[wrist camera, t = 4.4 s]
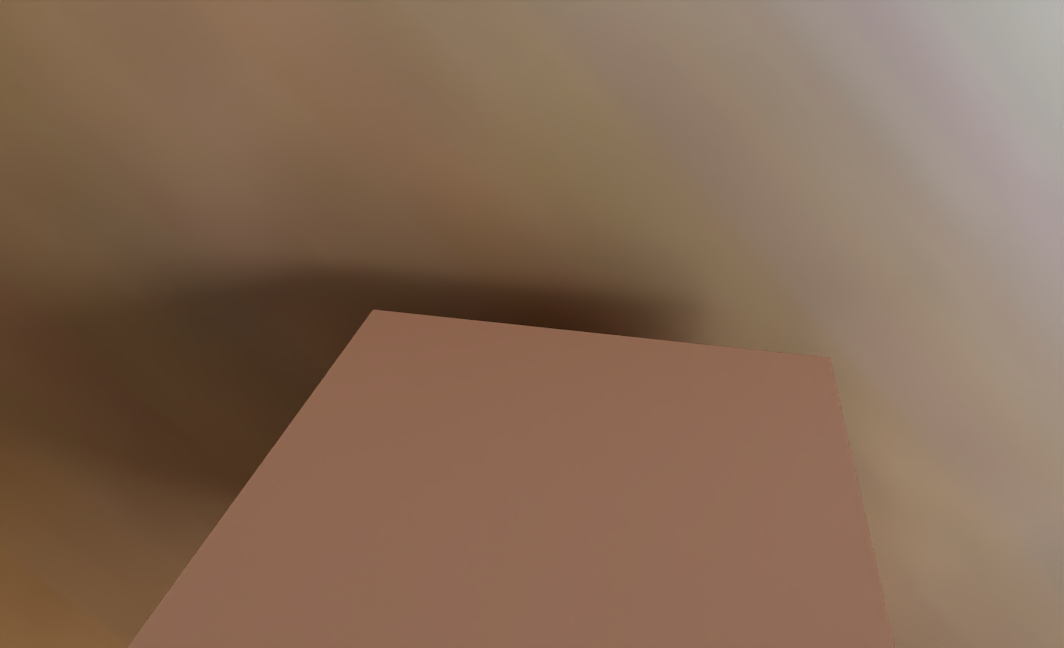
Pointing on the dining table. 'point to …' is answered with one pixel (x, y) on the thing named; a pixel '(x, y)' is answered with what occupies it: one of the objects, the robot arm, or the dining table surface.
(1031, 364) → the dining table surface
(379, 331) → the terracotta cube
